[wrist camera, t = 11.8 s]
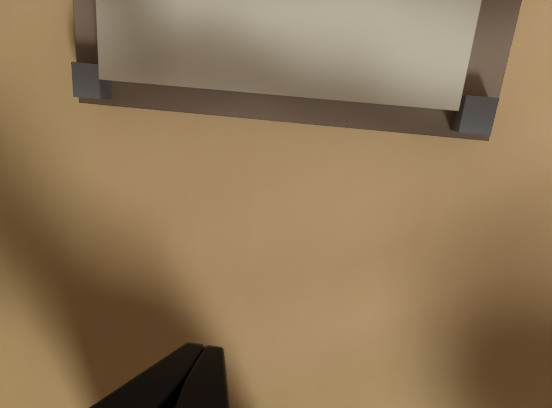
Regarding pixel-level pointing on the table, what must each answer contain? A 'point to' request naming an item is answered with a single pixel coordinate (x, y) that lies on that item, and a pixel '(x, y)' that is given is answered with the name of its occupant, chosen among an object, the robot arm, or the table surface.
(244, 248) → the table surface
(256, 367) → the table surface
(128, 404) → the robot arm
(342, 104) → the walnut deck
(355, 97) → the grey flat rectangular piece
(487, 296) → the table surface
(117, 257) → the table surface
